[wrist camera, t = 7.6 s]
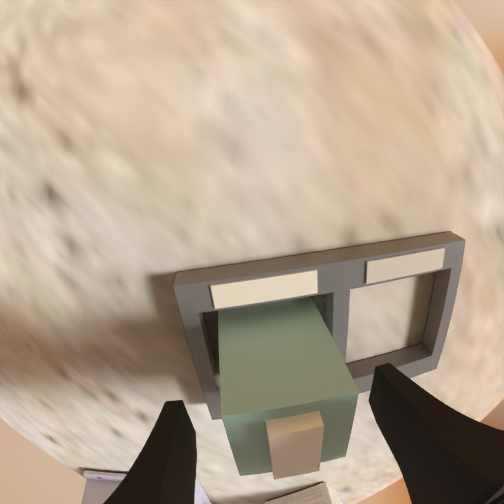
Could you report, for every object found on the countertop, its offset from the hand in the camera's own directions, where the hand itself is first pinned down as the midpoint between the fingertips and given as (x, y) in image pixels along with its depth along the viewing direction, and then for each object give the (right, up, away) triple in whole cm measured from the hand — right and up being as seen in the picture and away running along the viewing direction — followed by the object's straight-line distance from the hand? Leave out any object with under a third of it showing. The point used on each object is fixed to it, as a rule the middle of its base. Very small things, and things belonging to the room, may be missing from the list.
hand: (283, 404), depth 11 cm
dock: (+3, +2, +4) cm, 5 cm away
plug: (0, +2, +4) cm, 4 cm away
